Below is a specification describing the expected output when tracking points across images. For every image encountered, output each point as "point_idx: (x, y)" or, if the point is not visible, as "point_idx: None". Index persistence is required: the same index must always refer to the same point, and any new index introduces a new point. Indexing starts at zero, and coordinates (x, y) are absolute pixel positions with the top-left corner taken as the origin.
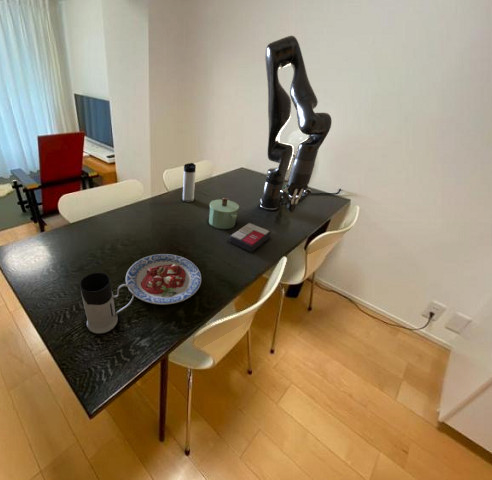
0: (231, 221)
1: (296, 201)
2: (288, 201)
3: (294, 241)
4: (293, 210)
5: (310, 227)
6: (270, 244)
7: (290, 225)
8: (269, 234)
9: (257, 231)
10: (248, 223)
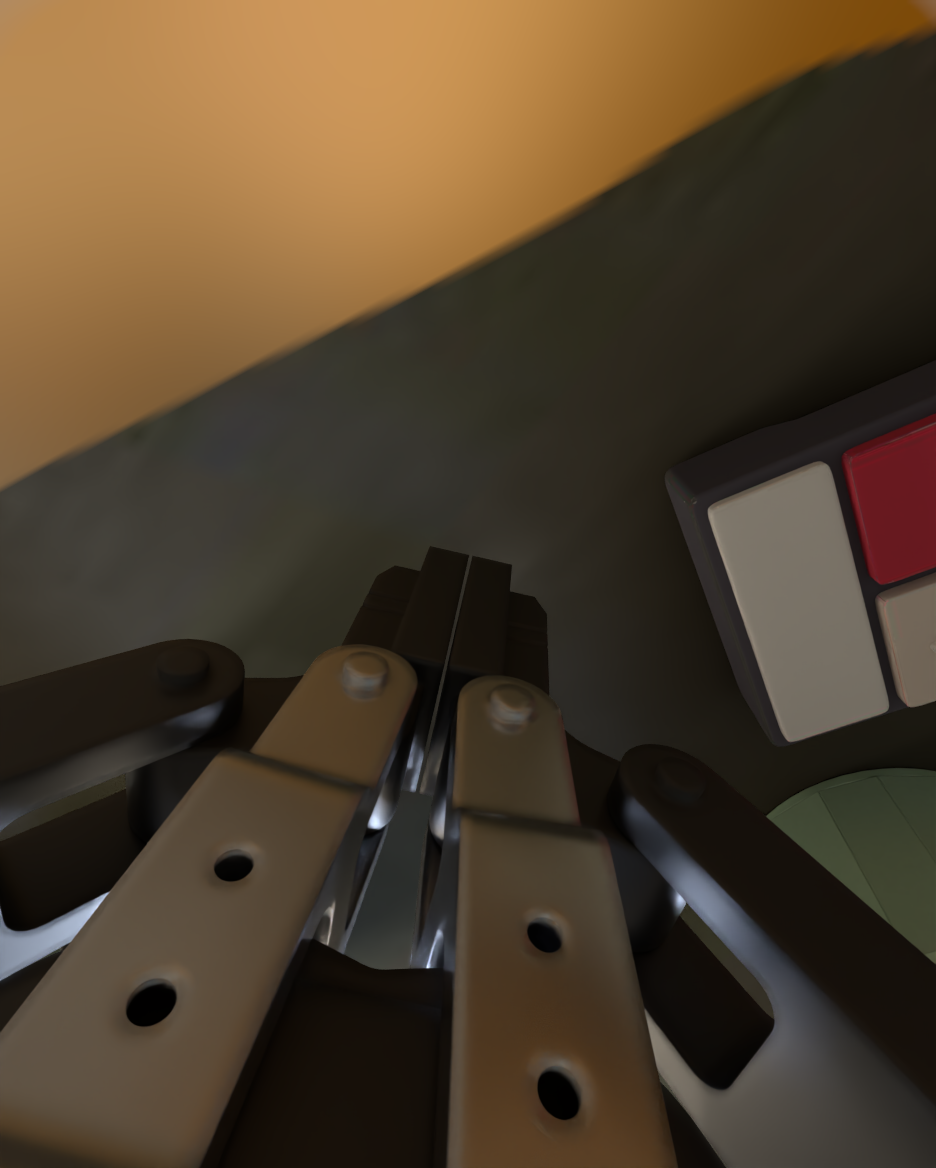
0: (929, 830)
1: (356, 705)
2: (698, 785)
3: (402, 312)
4: (402, 569)
5: (30, 507)
6: (742, 356)
7: (232, 611)
8: (701, 479)
9: (852, 561)
10: (805, 736)
